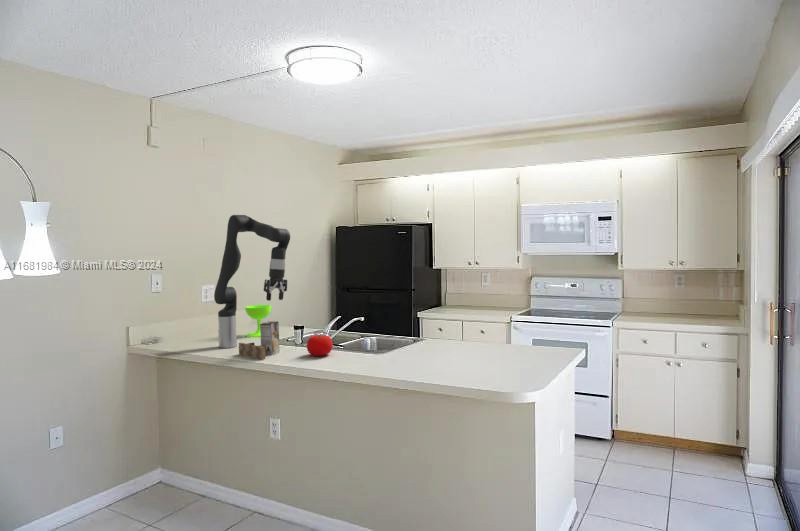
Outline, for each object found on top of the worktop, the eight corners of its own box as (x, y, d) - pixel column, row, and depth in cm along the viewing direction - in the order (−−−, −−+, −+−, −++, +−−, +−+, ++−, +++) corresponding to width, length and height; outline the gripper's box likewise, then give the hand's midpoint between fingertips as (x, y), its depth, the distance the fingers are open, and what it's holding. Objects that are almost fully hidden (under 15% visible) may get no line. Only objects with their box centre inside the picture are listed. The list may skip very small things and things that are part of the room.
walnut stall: (239, 354, 293) (238, 342, 292) (247, 352, 296) (247, 341, 296) (263, 359, 277) (262, 347, 277) (272, 358, 281) (271, 345, 281)
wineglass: (277, 333, 357) (276, 305, 357) (261, 338, 343) (260, 308, 342) (257, 332, 364) (256, 304, 363) (240, 336, 349) (239, 307, 349)
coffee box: (268, 351, 299) (267, 321, 298) (280, 351, 297) (278, 321, 297) (260, 355, 290) (259, 323, 289) (272, 355, 288) (271, 323, 288)
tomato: (306, 353, 291) (305, 333, 291) (331, 351, 294) (331, 331, 293) (307, 358, 277) (307, 337, 277) (334, 357, 280) (333, 336, 279)
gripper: (281, 267, 294) (279, 298, 294) (261, 267, 282) (258, 299, 282) (292, 268, 290) (289, 300, 290) (272, 268, 278) (270, 301, 278)
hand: (274, 300), depth 286 cm, fingers open, 8 cm apart
